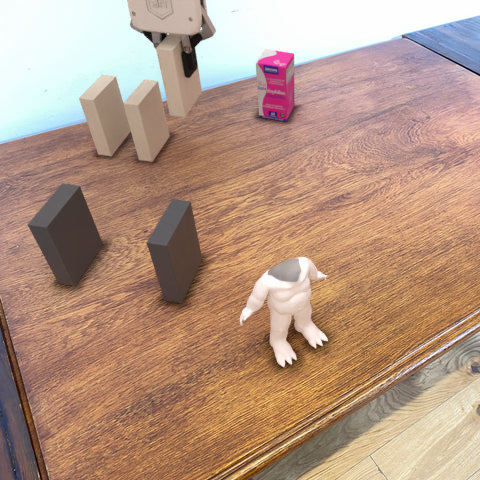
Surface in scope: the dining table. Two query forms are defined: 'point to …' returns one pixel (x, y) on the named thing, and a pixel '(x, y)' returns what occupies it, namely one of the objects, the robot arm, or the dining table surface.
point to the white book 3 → (177, 77)
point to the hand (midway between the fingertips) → (180, 71)
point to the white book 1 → (105, 114)
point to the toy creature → (287, 304)
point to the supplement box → (275, 84)
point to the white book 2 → (147, 120)
